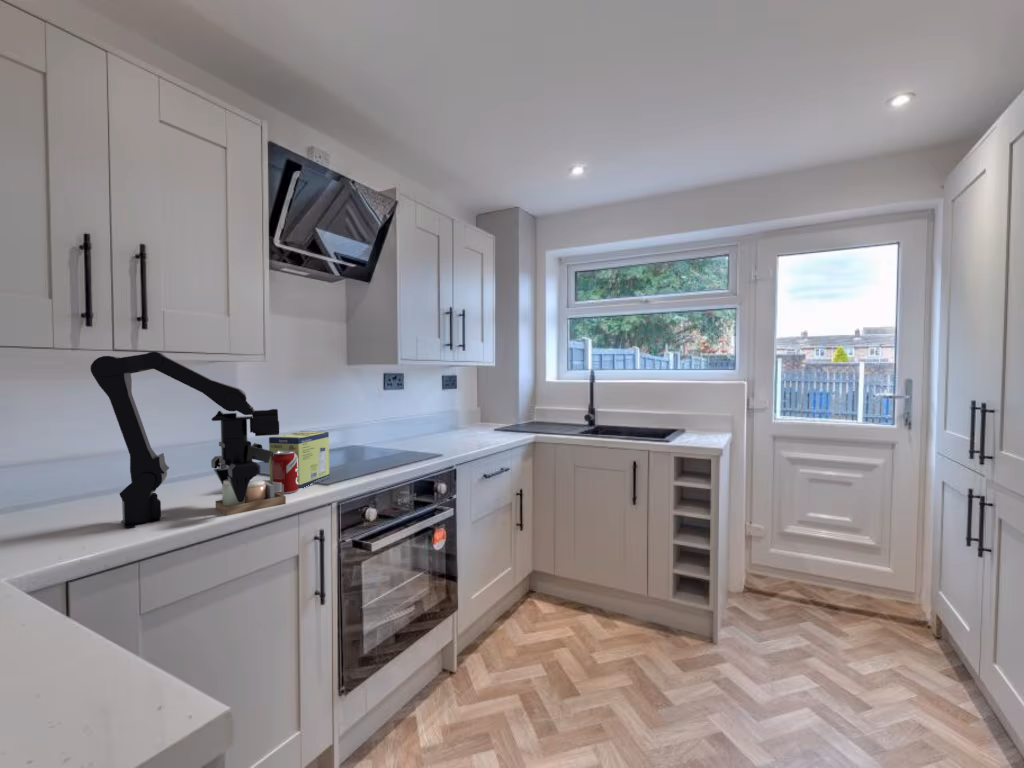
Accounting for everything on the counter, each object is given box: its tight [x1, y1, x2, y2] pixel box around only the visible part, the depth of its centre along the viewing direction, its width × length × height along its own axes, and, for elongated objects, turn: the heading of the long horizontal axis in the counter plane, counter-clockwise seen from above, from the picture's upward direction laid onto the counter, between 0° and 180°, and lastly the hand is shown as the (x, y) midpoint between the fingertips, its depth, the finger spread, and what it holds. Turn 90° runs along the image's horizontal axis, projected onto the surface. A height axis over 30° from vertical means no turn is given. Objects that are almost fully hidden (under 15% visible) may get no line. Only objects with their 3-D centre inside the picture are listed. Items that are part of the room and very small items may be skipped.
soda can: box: [272, 450, 299, 495], centre depth 139 cm, size 7×7×12 cm
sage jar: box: [221, 479, 245, 506], centre depth 121 cm, size 5×5×6 cm
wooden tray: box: [215, 491, 287, 517], centre depth 124 cm, size 14×9×2 cm, turn 136°
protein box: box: [268, 430, 330, 490], centre depth 151 cm, size 10×16×16 cm
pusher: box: [264, 480, 275, 499], centre depth 127 cm, size 1×7×5 cm, turn 46°
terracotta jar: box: [245, 479, 266, 503], centre depth 125 cm, size 5×5×6 cm
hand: (235, 498), depth 121 cm, fingers open, 8 cm apart
